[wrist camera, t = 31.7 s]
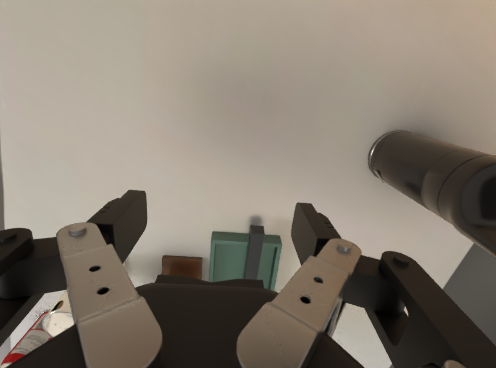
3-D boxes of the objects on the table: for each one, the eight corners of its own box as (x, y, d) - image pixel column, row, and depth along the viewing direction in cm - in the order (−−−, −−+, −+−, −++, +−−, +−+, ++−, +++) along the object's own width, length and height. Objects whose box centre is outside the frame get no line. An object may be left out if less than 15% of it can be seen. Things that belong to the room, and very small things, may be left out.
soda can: (49, 329, 58) (4, 386, 47) (37, 311, 56) (-12, 367, 45) (72, 325, 58) (33, 382, 47) (62, 307, 56) (18, 362, 45)
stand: (163, 247, 52) (61, 467, 22) (202, 249, 52) (157, 466, 22) (164, 307, 57) (85, 547, 27) (200, 308, 58) (161, 545, 28)
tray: (212, 231, 51) (211, 240, 48) (279, 235, 52) (282, 244, 49) (207, 319, 59) (206, 330, 56) (265, 321, 60) (266, 333, 57)
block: (244, 224, 46) (245, 237, 43) (269, 226, 47) (271, 239, 44) (234, 309, 57) (233, 324, 54) (254, 309, 58) (255, 325, 54)
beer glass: (134, 261, 53) (98, 325, 39) (116, 282, 54) (74, 350, 40) (104, 243, 51) (54, 302, 37) (86, 265, 52) (32, 330, 38)
